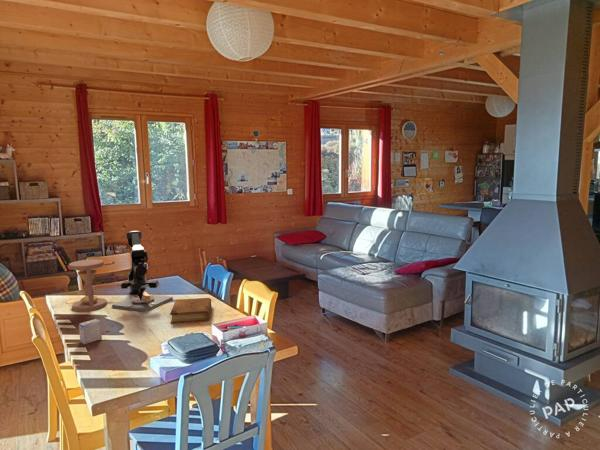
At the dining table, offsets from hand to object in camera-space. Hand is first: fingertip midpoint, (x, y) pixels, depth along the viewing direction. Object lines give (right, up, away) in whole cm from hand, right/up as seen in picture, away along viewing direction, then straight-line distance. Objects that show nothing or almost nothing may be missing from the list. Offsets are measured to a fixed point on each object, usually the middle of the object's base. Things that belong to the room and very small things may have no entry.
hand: (140, 299), depth 240 cm
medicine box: (-6, -11, -44) cm, 46 cm away
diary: (+31, -6, -12) cm, 34 cm away
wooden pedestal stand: (-30, -5, +5) cm, 31 cm away
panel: (-2, -4, +9) cm, 10 cm away
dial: (0, -2, +6) cm, 7 cm away
